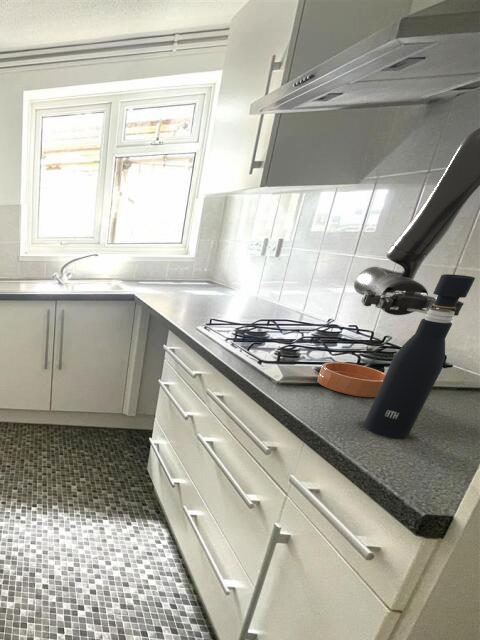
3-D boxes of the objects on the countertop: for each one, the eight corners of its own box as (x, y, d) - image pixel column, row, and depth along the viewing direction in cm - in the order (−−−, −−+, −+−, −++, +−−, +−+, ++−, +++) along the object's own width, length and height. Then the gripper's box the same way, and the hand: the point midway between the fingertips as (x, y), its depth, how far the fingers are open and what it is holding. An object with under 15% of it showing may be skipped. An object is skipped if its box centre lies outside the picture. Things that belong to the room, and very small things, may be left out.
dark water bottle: (393, 426, 83) (467, 274, 71) (415, 442, 78) (499, 280, 66) (355, 421, 85) (421, 272, 73) (374, 437, 79) (448, 278, 67)
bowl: (339, 376, 108) (345, 360, 106) (395, 395, 97) (403, 378, 95) (304, 381, 104) (310, 364, 102) (358, 402, 94) (366, 383, 92)
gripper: (363, 274, 95) (378, 285, 83) (450, 281, 88) (481, 294, 76) (350, 306, 99) (362, 321, 86) (434, 316, 91) (460, 333, 79)
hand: (418, 309), depth 81 cm, fingers open, 8 cm apart
